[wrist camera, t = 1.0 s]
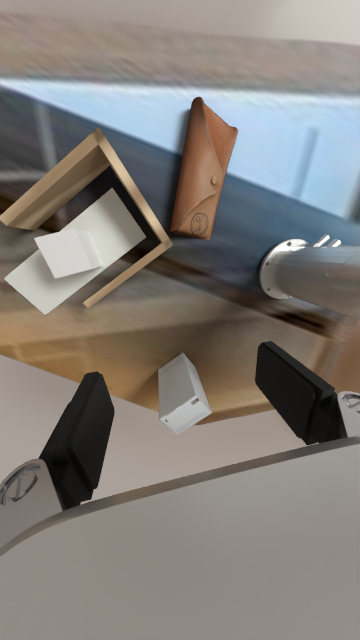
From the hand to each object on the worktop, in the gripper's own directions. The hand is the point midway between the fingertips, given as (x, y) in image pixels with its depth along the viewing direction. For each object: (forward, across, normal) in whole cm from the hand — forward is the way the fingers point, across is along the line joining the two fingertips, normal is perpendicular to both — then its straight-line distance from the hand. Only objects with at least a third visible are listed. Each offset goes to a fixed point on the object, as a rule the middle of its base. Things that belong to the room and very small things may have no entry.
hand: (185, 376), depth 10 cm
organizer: (+28, +9, -10) cm, 32 cm away
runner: (+29, +15, -7) cm, 33 cm away
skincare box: (+28, -1, +21) cm, 35 cm away
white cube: (+29, +14, -8) cm, 33 cm away
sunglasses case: (+29, -10, -17) cm, 35 cm away
